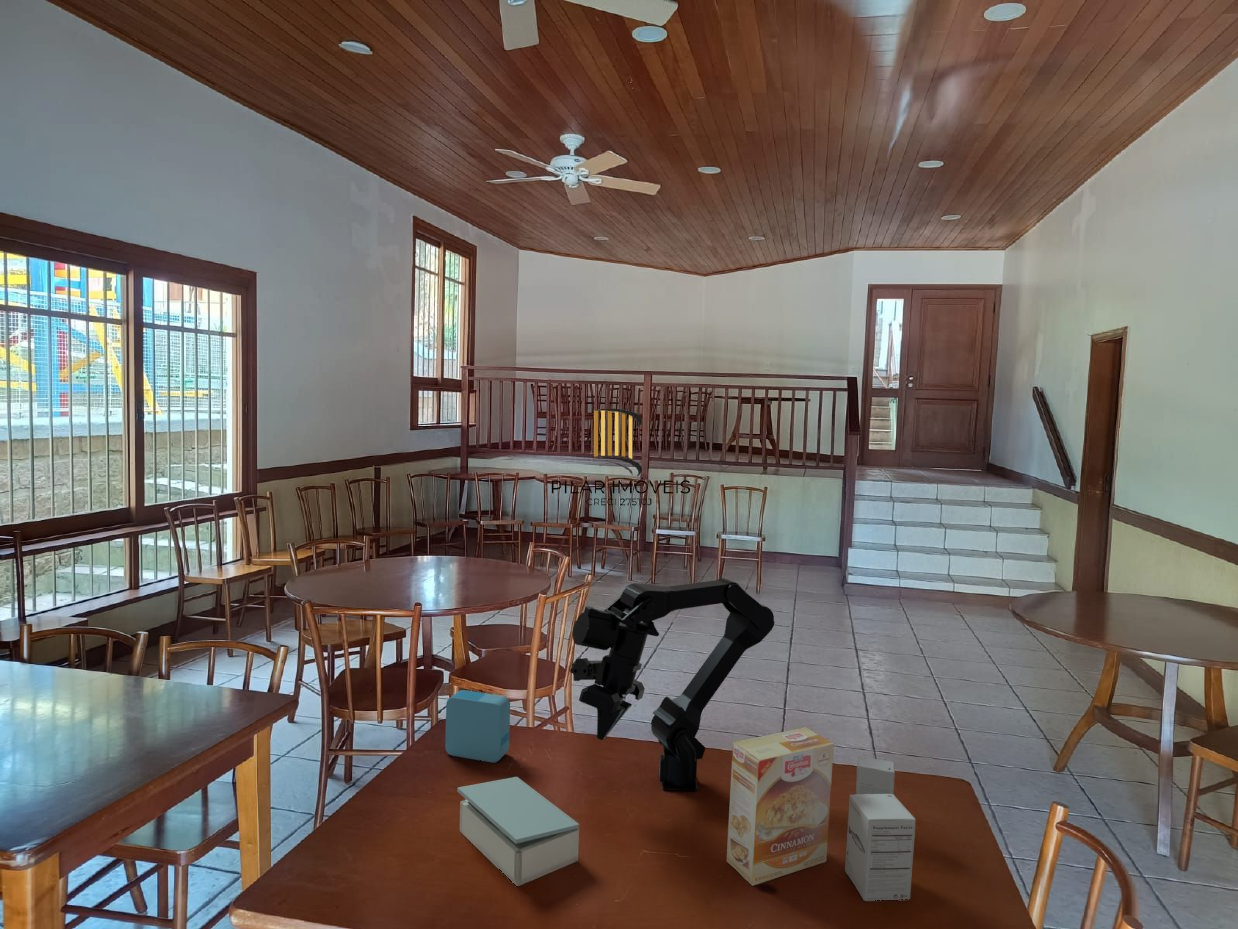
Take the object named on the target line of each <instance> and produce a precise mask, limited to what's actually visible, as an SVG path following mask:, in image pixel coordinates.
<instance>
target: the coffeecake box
mask: <svg viewBox="0 0 1238 929" xmlns="http://www.w3.org/2000/svg"><path fill="white" fill-rule="evenodd" d="M834 746H835V744H834V742H832V741H830V740H829V739H827V738H825V737H824V736H822V735H820V734H817V732H815V731H813V730H812V729H809V728H808V727H806V726H804V727H801V728H796V729H791V730H786V731H780V732H776V733H771V734H767V735H761V736H758V737H757V736H756V737H751V738H747V739H743V740H737V741H732V756H731V772H730V775H731V776H730V789H729V790H730V792H729V793H730V794H729V809H728V810H729V811H728V826H727V843H726V844H727V846H726V847H727V848H726V862H727V864H729V865H730V866H731V867H732V868H733V869H735V870H736V872H738V873H739V875H741V877H742V878H743V879H744V880H746V882H747V883H749V884H750V885H751V886H752V887H753V886H756V885H761V884H763V883H766V882H768V881H772V880H775V879H777V878H780V877H781V878H782V877H783V876H784V877H785V876H786V875H789V874H792V873H795V872H799V871H802V870H804V869H808V868H813V867H815V866H817V865H820V864H824V863H826V862H827V857H828V839H829V837H828V836H829V824H830V810H831V808H830V807H831V794H832V791H831V790H832V779H833V764H834V763H833V761H834Z"/></svg>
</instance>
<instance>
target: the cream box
mask: <svg viewBox="0 0 1238 929" xmlns="http://www.w3.org/2000/svg"><path fill="white" fill-rule="evenodd" d="M459 832H460V833H461V834H462V835H463V836H464V837H465V838H466V839H467V840H468V841H470V842H471V844H473V846H474V847H475V848H476V849H478V851H479V852H480V853H482V854H483V855H484V856H485V858H487V859H488V860H489V861H490V862H491V863H492V865H493V866H495V867H496V868H497V869H498V870H499V869H500V870H501V871H502V872H501V871H500V870H499V871H500V872H501V874H503V873H504V874H505V875H506V876H507V877H508V878H509V879H510V880H511V881H512V882H511V881H510V880H509V879H508V878H507V877H506V876H505V875H504V874H503V875H504V876H505V877H506V878H507V879H508V880H509V881H510V882H511V884H513V883H514V884H515V885H516V886H518V887H519V886H522V885H525V884H526V883H527V884H528V883H530V882H532V881H534V880H536V879H539V878H541V877H543V876H547V875H548V874H550V873H553V872H555V871H557V870H560V869H562V868H564V867H567V866H569V865H571V864H574V863H577V862H578V861H579V844H580V843H579V840H580V829H579V828H577V829H573V830H569V831H565V832H561V833H557V834H553V835H549V836H545V837H541V838H537V839H533V840H529V841H525V842H521V843H517V844H515V843H514V842H513V841H512V840H511V839H510V838H509V837H508V836H507V835H505V834H504V833H503V832H502V831H501V830H500V829H499V828H498V827H496V826H495V825H494V824H493V823H492V822H491V821H490V820H489V819H488V818H486V817H485V816H484V815H483V814H482V813H481V812H480V811H479V810H478V809H476V808H475V807H474V806H473V805H472V804H471V803H470V802H469V801H467V800H466V799H463V800H460V802H459ZM514 884H513V885H514ZM515 885H514V886H515ZM516 886H515V887H516Z"/></svg>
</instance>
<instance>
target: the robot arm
mask: <svg viewBox="0 0 1238 929" xmlns="http://www.w3.org/2000/svg"><path fill="white" fill-rule="evenodd" d="M720 604H722V606H723V607H724V608H725V610H726V611H728V613H729V615H727V617H726V620H725V628H724V634H723V635H722V637H721V639H720V640H719V641H718V643H717V644H716V645H715V647H714V648H713V649H712V651H711V652H710V654H709V655H708V656H707V658H706V660H705V661H704V662H703V663H702V665H701V667H699V670H697V672H696V673H695V675H694V676H693V677H692V679H691V681H690V682H689V683H688V684H687V686H686V687H685V688H684V690H683V692H682V693H681V694H680V695H678V696H676V697H675V698H673V699H671V698H670V697H669V696H665V697H664V698H663V699H662V701H661V703H660V705H659V706H658V707H657V708H656V709H655V710H654V711H653V712H652V714H653V717H652V719H651V721H650V727H651V728H650V729H651V733H652V735H654V737H655V738H656V739H657V740H658V744H659V745H660V746H662V747H663V749H662V750H663V751H662V754H660V755H659V769H658V770H659V772H658V773H659V774H658V775H659V776H658V777H659V783H661V789H662V790H664V791H679V792H680V791H681V792H683V791H684V792H697V791H698V783H697V782H698V781H697V774H698V773H697V772H698V771H697V770H698V760H701V759H703V757H704V754H705V752H706V747H705V746H704V745H703V743H701V741H700V740H698V739H697V738H696V736H697V734H698V732H699V730H700V726H701V719H702V713H703V711H704V709H705V708H706V706H707V705H708V703H709V702H710V701H711V699H712V698H713V697H714V695H715V694H716V693H717V691H718V690H719V688H720V687H721V685H722V684H723V682H724V681H725V680H726V678H727V677H728V676H729V674H730V673H731V671H732V669H733V668H734V667H735V665H736V664H737V663H738V661H740V658H741V657H742V656H743V654H744V653H745V652H746V651H747V650H748V649H751V648H752V647H754V646H756V645H758V644H759V643H761V642H762V641H763V640H764V639H765V638H766V637H767V636H768V635H769V633H771V631H772V630H773V628H774V626H775V623H776V622H775V616H774V613H773V610H772V609H771V608H769V607H768V606H765V605H763V604H761V603H760V602H759V601H757V600H756V599H755V598H754V597H752V596H751V595H750V594H749V593H747V592H746V591H745V590H744V589H743V588H742V587H741V586H740V584H739V583H737V582H736V581H732V580H730V579H728V578H725V577H724V578H723V577H721V578H719V579H716V580H709V581H701V582H700V581H699V582H692V583H686V584H678V585H677V584H676V585H671V586H665V585H662V586H661V585H656V584H648V583H639V582H638V583H635V582H634V583H631V584H628V585H626V586H625V588H624V589H623V591H622V593H621V595H619V596H618V597H617V598H616V599H615V600H613V601H612V603H610V604H609V605H608V606H607V607H605V608H604V610H601V609H597V608H595V607H593V606H589V605H586V606H585V607H584V610H583V612H581V613H580V614H579V615H578V617H577V618H576V620H575V621H574V624H573V627H572V640H573V643H574V644H575V645H576V646H582V647H586V648H592V649H596V650H602V651H608V650H609V651H608V654H607V655H604V656H602V659H601V660H589V659H588V658H587V657H584V658H581V657H579V658H578V657H577V658H576V659H575V660H574V662H573V663H571V668H570V669H569V671H570V673H571V674H572V675H573V676H572V678H573V681H574V682H580V681H588V680H589V681H594V683H593V684H590V685H588V686H586V687H584V688H582V689H581V691H580V695H579V699H578V701H579V702H580V703H582V704H585V705H588V706H591V707H593V708H594V709H596V712H597V716H596V717H597V718H596V719H597V724H596V725H597V726H596V737H597V740H600V741H603V740H605V739H606V738H607V737H608V735H609V734H610V732H611V731H612V730H613V729H614V727H616V725H617V724H618V723H619V721H620V720H621V719H622V718H623V716H624V715H625V714H626V713H627V712H628V711H629V709H630V708H631V707H632V705H633V704H632V703H630V702H629V701H626V698H627V697H625V696H627V695H629V694H630V695H633V696H634V699H635V700H637V701H640V700H641V699H643V697H644V693H645V690H646V689H645V686H644V684H643V682H642V681H639V680H636V676H637V672H638V671H640V670H642V669H641V668H642V665H643V664H642V663H641V658H642V655H643V653H644V648H645V645H646V642H647V638H648V636H652V637H659V636H660V633H659V631H658V630H657V628H656V625H655V623H654V621H656V620H658V619H662V618H664V617H666V616H668V615H669V614H670V613H672V612H674V611H678V610H684V609H690V608H691V609H692V608H698V607H705V606H710V605H711V606H712V605H720Z"/></svg>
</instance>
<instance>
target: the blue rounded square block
mask: <svg viewBox="0 0 1238 929" xmlns="http://www.w3.org/2000/svg"><path fill="white" fill-rule="evenodd" d="M510 721H511V703H510V699H509V698H508V697H507V696H504V695H499V694H493V693H487V692H480V691H474V690H473V691H472V690H465V689H461V690H458V691H457V692H456V693H454V694H453V695H451V697H449V698H448V699H447V700H446V703H445V751H446V753H448V755H450V756H452V757H459V758H463V759H469V760H476V761H480V760H481V761H482V762H488V763H495V764H496V763H498V762H499V761H501V759H502V758H503V757H504V756H505V755H506V754H507V753H508V751H509V749H510V729H511V728H510V726H511V724H510V723H511V722H510Z"/></svg>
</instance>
